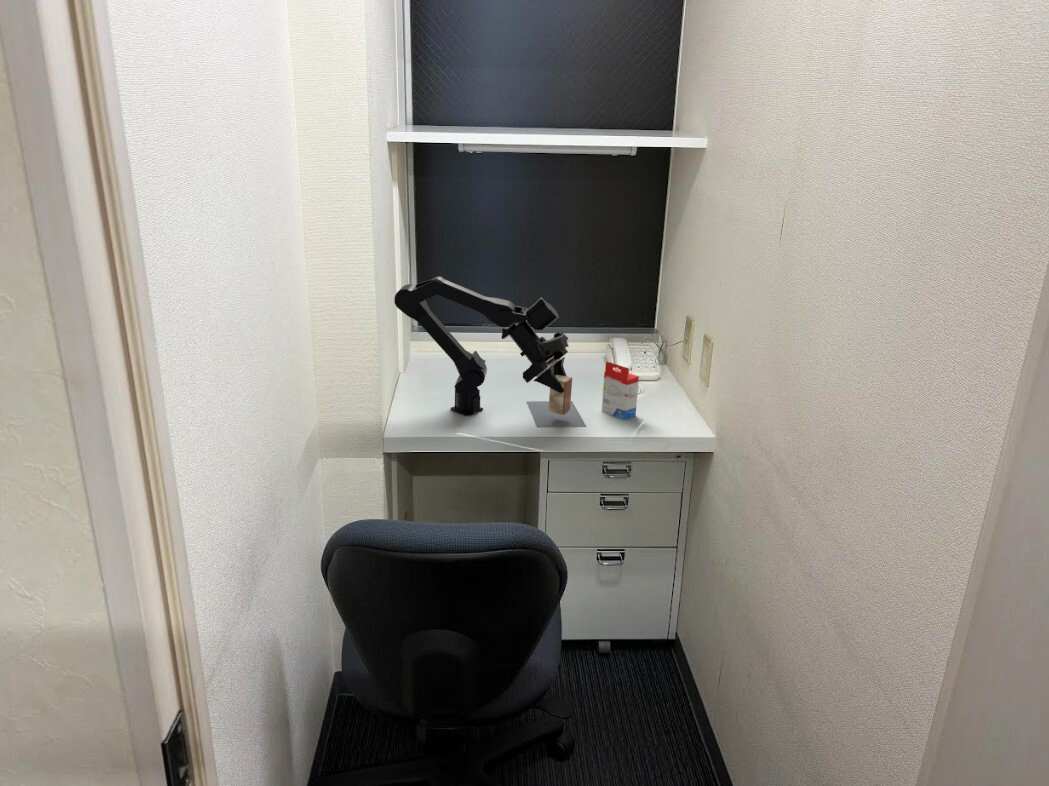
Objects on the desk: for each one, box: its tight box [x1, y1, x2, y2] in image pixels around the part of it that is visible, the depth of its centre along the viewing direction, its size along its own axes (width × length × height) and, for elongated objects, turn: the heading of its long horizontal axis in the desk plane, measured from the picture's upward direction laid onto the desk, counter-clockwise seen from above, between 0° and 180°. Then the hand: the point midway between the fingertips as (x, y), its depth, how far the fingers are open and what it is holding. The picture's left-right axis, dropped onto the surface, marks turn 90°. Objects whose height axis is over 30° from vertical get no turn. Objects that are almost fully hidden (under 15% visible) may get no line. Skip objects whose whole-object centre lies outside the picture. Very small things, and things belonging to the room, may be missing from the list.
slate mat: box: [526, 400, 587, 429], centre depth 212 cm, size 19×13×1 cm
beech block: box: [548, 375, 573, 415], centre depth 205 cm, size 4×4×9 cm
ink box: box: [601, 361, 640, 421], centre depth 212 cm, size 8×5×15 cm, turn 43°
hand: (565, 389), depth 204 cm, fingers closed on beech block, 4 cm apart
